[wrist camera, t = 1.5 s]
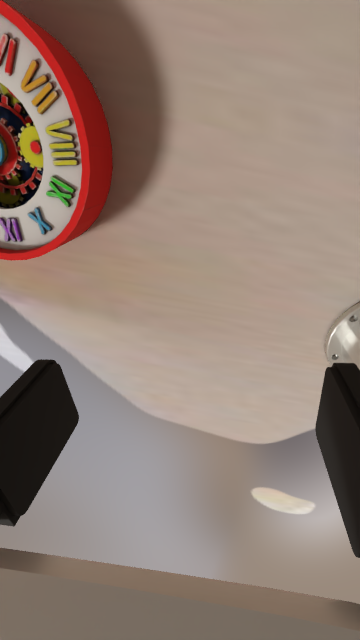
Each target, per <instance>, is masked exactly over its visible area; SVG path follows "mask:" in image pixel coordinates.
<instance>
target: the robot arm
mask: <svg viewBox="0 0 360 640" xmlns="http://www.w3.org/2000/svg"><path fill="white" fill-rule="evenodd" d="M325 353H326V356H327V359H328V361H329V363H330V365H331V367H327V368H326V371H325V377H324V383H323V388H322V394H321V399H320V405H319V410H318V416H317V421H316V436H317V440H318V443H319V446H320V449H321V452H322V455H323V458H324V462H325V465H326V468H327V471H328V474H329V478H330V481H331V484H332V487H333V490H334V493H335V496H336V499H337V503H338V506H339V509H340V512H341V515H342V518H343V522H344V525H345V528H346V531H347V534H348V537H349V541H350V544H351V547H352V549H353V552H354V554H355V556H356V557H358V558H360V303H358V304H356V305H354V306H352V307H351V308H350V309H348V310H347V311H345V312H344V313H343V314H342V315H341V316H340V317H339V318H338V319H337V320H336V321H335V323H334V324H333V325H332V327H331V328H330V330H329V333H328V335H327V337H326V342H325ZM78 419H79V415H78V412H77V409H76V406H75V404H74V401H73V399H72V396H71V393H70V390H69V388H68V385H67V382H66V380H65V377H64V375H63V372H62V369H61V367H60V365H59V364H57V363H56V361H54V360H37V361H35V362H34V363H33V364H32V365H31V366H30V367H29V368H28V369H27V370H26V371H25V373H24V374H23V375H22V376H21V377H20V378H19V379H18V380H17V381H16V382H15V383H14V384H13V385H12V386H11V387H10V388H9V389H8V390H7V391H6V392H5V393H4V394H3V395H2V396H1V397H0V524H1V525H8V526H15V525H16V523H17V521H18V519H19V518H20V516H21V515H23V514H25V513H26V511H27V510H28V508H29V506H30V505H31V503H32V501H33V500H34V498H35V496H36V495H37V493H38V491H39V489H40V488H41V486H42V484H43V482H44V481H45V479H46V477H47V476H48V474H49V472H50V470H51V469H52V467H53V465H54V463H55V462H56V460H57V458H58V457H59V455H60V453H61V451H62V450H63V448H64V446H65V444H66V443H67V441H68V439H69V438H70V436H71V434H72V432H73V431H74V429H75V427H76V426H77V423H78ZM0 640H360V604H356V603H352V602H347V601H342V600H335V599H330V598H324V597H319V596H313V595H307V594H301V593H295V592H290V591H284V590H278V589H273V588H266V587H259V586H253V585H246V584H240V583H233V582H227V581H221V580H214V579H207V578H201V577H195V576H188V575H181V574H175V573H168V572H161V571H155V570H149V569H142V568H135V567H128V566H121V565H115V564H108V563H101V562H94V561H88V560H81V559H75V558H68V557H61V556H54V555H47V554H40V553H33V552H26V551H19V550H12V549H5V548H0Z"/></svg>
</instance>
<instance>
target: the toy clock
mask: <svg viewBox="0 0 360 640" xmlns="http://www.w3.org/2000/svg"><path fill="white" fill-rule="evenodd" d="M112 168H113V167H112V145H111V140H110V134H109V128H108V124H107V121H106V118H105V115H104V112H103V109H102V106H101V103H100V101H99V99H98V97H97V95H96V93H95V91H94V88H93V86H92V84H91V82H90V81H89V79H88V78H87V76H86V75H85V73H84V72H83V70H82V69H81V67H80V66H79V64H78V62H77V61H76V60H75V59H74V58H73V57H72V56H71V54H70V53H69V52H68V51H67V50H66V49H65V48H64V47H63V45H62V44H61V43H59V42H58V41H57V40H56V39H55V38H53V37H52V36H51V35H50V34H49V33H47V32H46V31H45V30H44V29H42V28H41V27H40V26H38V25H37V24H35V23H34V22H32V21H31V20H30V19H28V18H27V17H25V16H24V15H22V14H21V13H20V12H18V11H17V10H15V9H14V8H13V7H11V6H10V5H8V4H7V3H5V2H4V1H3V0H0V259H5V260H27V259H31V258H35V257H39V256H42V255H44V254H46V253H48V252H50V251H52V250H54V249H56V248H57V247H59V246H61V245H63V244H65V243H67V242H69V241H71V240H72V239H74V238H76V237H78V236H80V235H81V234H82V233H83V232H85V231H86V230H87V229H88V228H89V227H90V226H91V225H92V224H93V222H94V221H95V220H96V219H97V217H98V216H99V214H100V212H101V210H102V208H103V206H104V204H105V202H106V199H107V196H108V192H109V189H110V185H111V176H112Z"/></svg>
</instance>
